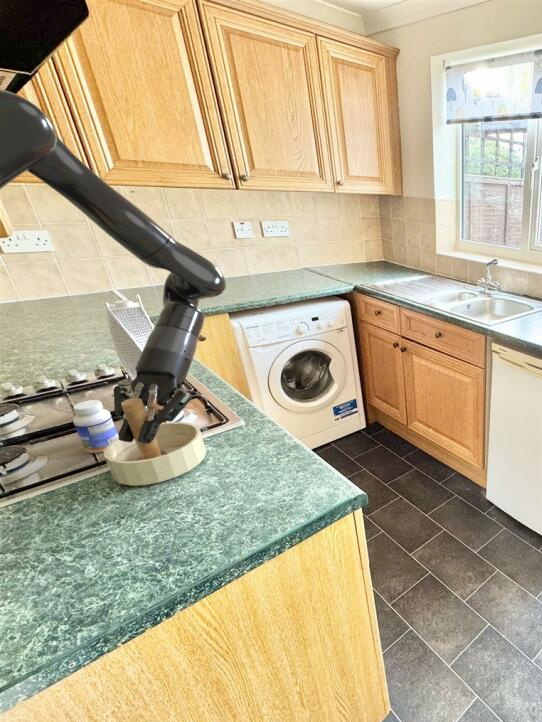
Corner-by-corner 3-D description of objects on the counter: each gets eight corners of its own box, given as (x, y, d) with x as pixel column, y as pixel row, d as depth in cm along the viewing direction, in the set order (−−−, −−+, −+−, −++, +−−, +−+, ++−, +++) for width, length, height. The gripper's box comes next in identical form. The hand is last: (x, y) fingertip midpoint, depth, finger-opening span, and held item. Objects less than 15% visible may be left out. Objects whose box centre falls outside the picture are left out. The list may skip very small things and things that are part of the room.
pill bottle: (82, 447, 85) (63, 405, 81) (116, 436, 89) (99, 395, 85) (90, 456, 82) (71, 413, 78) (125, 445, 87) (108, 403, 82)
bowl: (93, 489, 74) (82, 464, 72) (146, 445, 87) (138, 422, 85) (181, 486, 76) (172, 461, 74) (220, 443, 89) (214, 421, 87)
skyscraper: (188, 404, 103) (154, 291, 91) (165, 419, 96) (125, 299, 84) (156, 402, 103) (118, 289, 91) (130, 417, 96) (85, 297, 84)
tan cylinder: (133, 469, 77) (108, 407, 71) (148, 455, 81) (126, 396, 75) (159, 469, 78) (136, 407, 72) (173, 455, 82) (153, 396, 76)
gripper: (116, 343, 77) (75, 434, 71) (190, 348, 77) (155, 440, 71) (149, 359, 84) (114, 443, 78) (217, 364, 84) (187, 449, 78)
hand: (134, 441), depth 75 cm, fingers closed on tan cylinder, 3 cm apart
